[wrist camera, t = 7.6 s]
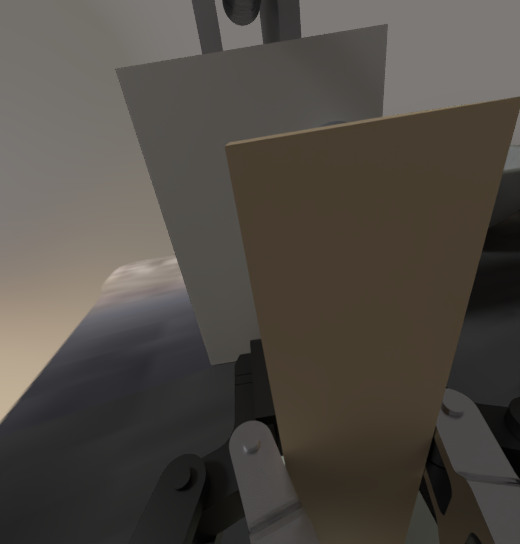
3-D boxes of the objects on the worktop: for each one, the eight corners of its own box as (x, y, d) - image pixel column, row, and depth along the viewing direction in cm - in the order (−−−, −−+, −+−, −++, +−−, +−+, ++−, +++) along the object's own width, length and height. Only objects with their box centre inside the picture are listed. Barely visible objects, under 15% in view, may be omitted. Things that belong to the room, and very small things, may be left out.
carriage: (257, 453, 18) (174, 150, 9) (372, 433, 18) (398, 113, 9) (274, 706, 10) (-228, 230, 1) (481, 669, 10) (1439, -47, 1)
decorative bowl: (520, 212, 48) (543, 139, 43) (554, 283, 30) (602, 169, 24) (367, 209, 63) (370, 154, 57) (325, 255, 44) (322, 181, 39)
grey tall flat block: (216, 316, 33) (121, -25, 19) (340, 295, 33) (338, -60, 19) (211, 370, 26) (44, -133, 11) (372, 342, 26) (407, -191, 12)
